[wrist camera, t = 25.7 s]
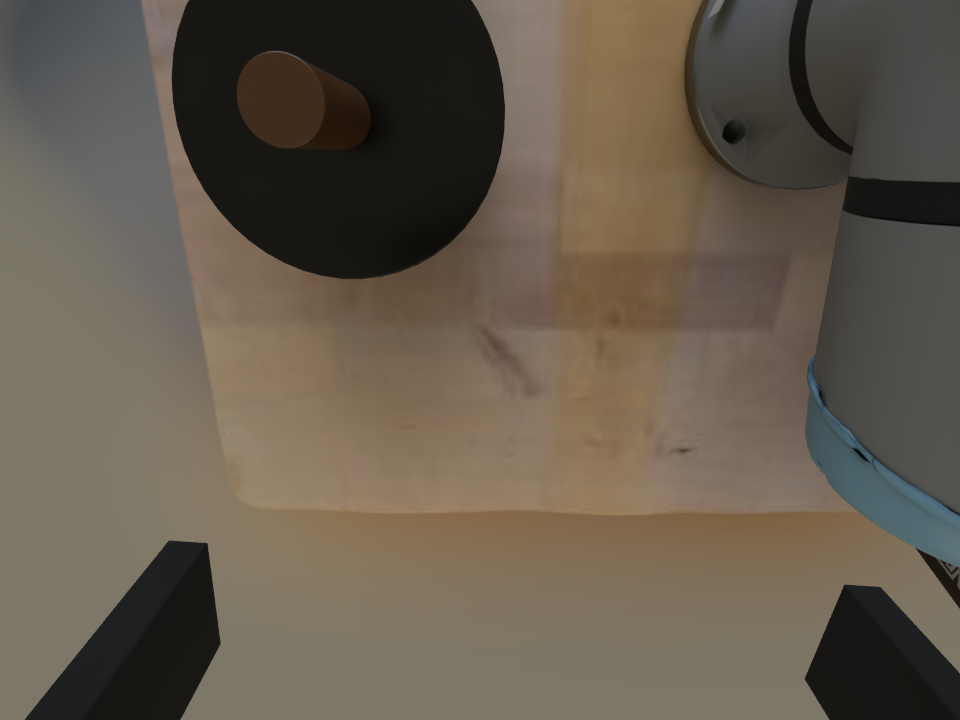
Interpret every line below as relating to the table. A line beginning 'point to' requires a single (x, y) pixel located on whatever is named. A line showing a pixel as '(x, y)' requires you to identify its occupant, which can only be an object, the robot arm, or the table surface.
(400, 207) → the lid
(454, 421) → the table surface
